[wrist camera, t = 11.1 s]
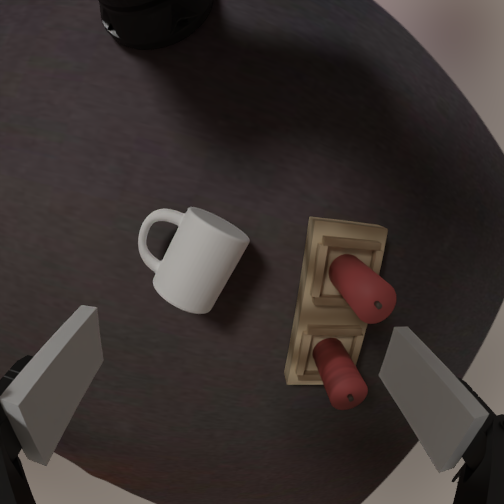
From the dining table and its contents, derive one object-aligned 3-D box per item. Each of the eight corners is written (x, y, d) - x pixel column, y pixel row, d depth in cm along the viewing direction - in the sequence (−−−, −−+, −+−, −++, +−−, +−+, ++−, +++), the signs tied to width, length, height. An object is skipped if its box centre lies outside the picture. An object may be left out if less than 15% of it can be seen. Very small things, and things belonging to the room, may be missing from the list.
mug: (249, 232, 41) (252, 248, 33) (212, 296, 43) (208, 324, 35) (165, 188, 39) (150, 193, 31) (133, 255, 41) (113, 274, 33)
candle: (331, 252, 39) (364, 283, 29) (364, 255, 40) (404, 285, 29) (325, 287, 40) (353, 327, 30) (358, 288, 41) (393, 327, 30)
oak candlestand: (309, 216, 41) (344, 241, 28) (378, 224, 42) (433, 250, 28) (284, 373, 47) (299, 436, 34) (344, 372, 48) (373, 430, 35)
